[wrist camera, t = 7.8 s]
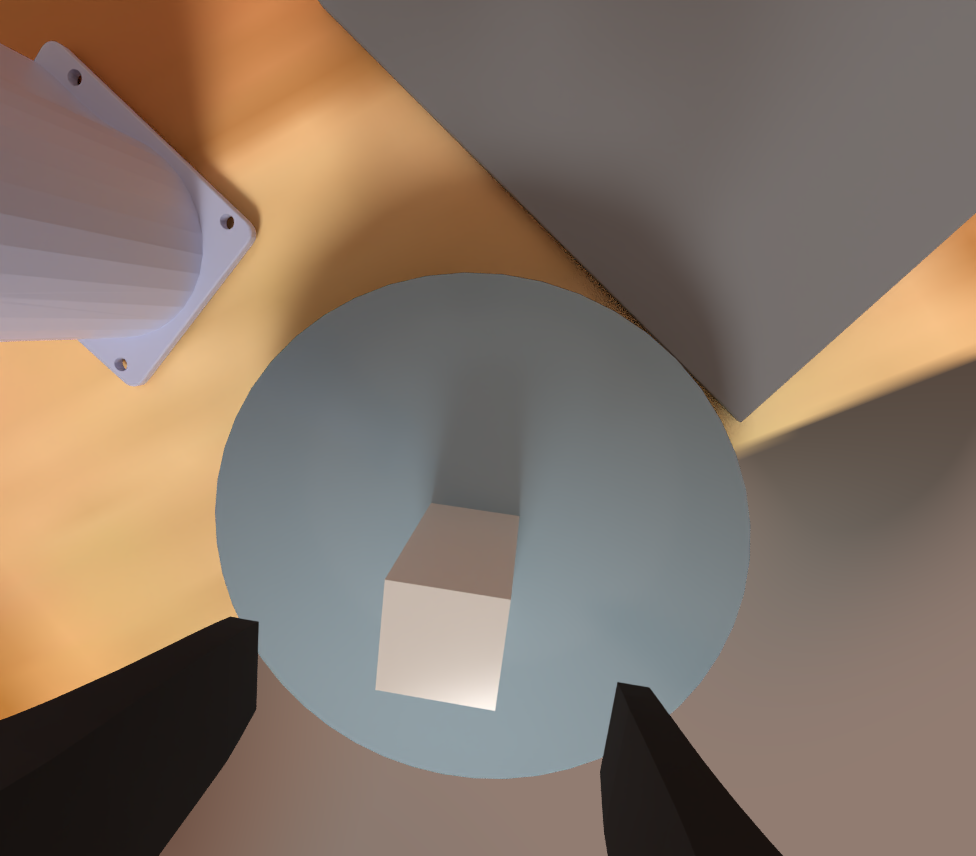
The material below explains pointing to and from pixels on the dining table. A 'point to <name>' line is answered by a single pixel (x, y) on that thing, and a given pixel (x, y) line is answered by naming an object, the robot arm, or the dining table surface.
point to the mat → (710, 151)
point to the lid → (481, 523)
